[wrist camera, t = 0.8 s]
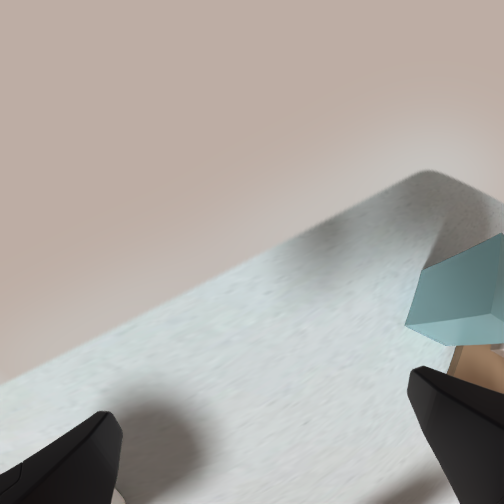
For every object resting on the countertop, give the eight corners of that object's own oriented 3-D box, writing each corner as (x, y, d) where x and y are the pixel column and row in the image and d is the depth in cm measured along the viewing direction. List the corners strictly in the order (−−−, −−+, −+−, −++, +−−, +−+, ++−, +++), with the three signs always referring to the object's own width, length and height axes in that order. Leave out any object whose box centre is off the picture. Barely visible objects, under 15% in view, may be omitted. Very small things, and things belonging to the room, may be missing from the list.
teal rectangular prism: (445, 345, 22) (530, 340, 12) (404, 325, 23) (490, 313, 12) (460, 293, 24) (539, 268, 13) (421, 270, 24) (501, 232, 14)
